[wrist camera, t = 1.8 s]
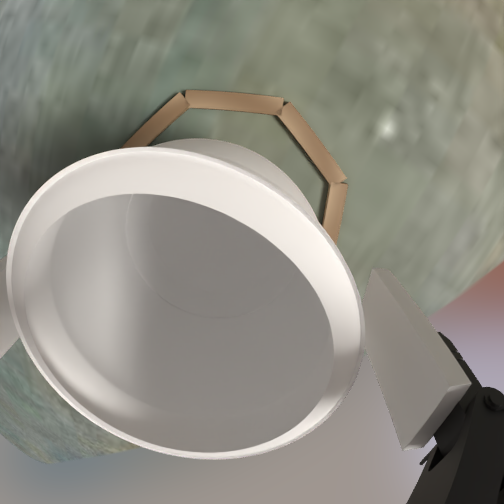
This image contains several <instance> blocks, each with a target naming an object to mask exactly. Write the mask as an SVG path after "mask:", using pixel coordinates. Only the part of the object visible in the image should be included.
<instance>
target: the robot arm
mask: <svg viewBox="0 0 504 504" xmlns="http://www.w3.org/2000/svg"><path fill="white" fill-rule="evenodd" d="M6 263H7V256H6V257H4V258H2V259H1V260H0V358H1V357H2V356H3V355H4V354H5V353H6V352H7V350H8V349H9V348H10V347H11V346H12V345H13V344H14V343H15V342H16V340H17V339H18V338H19V337H20V336H19V334H18V331H17V329H16V326H15V323H14V320H13V317H12V314H11V310H10V305H9V300H8V294H7V285H6ZM362 307H363V312H364V320H365V345H364V347H365V350H366V352H367V355H368V357H369V360H370V362H371V365H372V368H373V370H374V372H375V375H376V378H377V380H378V383H379V386H380V388H381V391H382V394H383V396H384V399H385V402H386V405H387V407H388V410H389V413H390V416H391V418H392V421H393V424H394V427H395V430H396V433H397V436H398V439H399V442H400V445H401V448H402V451H406V450H411V449H417V448H422V447H424V446H425V445H426V444H427V442H428V441H429V440H430V439H431V438H432V437H433V435H434V437H435V440H436V442H437V444H436V445H435V447H434V448H433V449H432V450H431V451H430V452H429V453H428V454H427V455H426V456H425V457H424V459H423V460H422V461H421V462H420V465H423V464H424V463H425V462H426V461H427V462H426V465H425V467H424V469H423V472H422V474H421V476H420V478H419V480H418V482H417V484H416V486H415V488H414V490H413V492H412V494H411V496H410V498H409V500H408V502H407V503H406V504H504V395H503V394H502V393H501V392H500V391H498V390H497V389H495V388H491V387H483V388H482V386H481V384H480V383H479V381H478V380H477V378H476V377H475V375H474V374H473V373H472V371H471V369H470V368H469V366H468V365H467V364H466V362H465V361H463V358H462V356H461V355H460V353H457V351H458V350H457V349H456V348H455V346H454V345H453V343H452V342H451V341H450V340H449V339H448V338H447V337H445V336H444V335H443V334H442V333H440V332H437V331H436V330H435V329H434V327H433V326H432V324H431V323H430V322H429V320H428V319H427V318H426V316H425V315H424V314H423V312H422V311H421V310H420V308H419V307H418V306H417V304H416V303H415V302H414V300H413V299H412V298H411V296H410V295H409V294H408V293H407V291H406V290H405V289H404V287H403V286H402V285H401V284H400V282H399V281H398V280H397V279H396V277H395V276H394V275H393V274H392V272H391V271H390V270H389V269H382V268H372V271H371V275H370V278H369V282H368V285H367V288H366V292H365V295H364V298H363V301H362Z"/></svg>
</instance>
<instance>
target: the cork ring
mask: <svg viewBox="0 0 504 504" xmlns="http://www.w3.org/2000/svg"><path fill="white" fill-rule="evenodd" d="M283 100H284V98H279V97H272V96H264V95H255V94H245V93H233V92H220V91H201V90H186V94H185V97H184V96H183V95H182V94H181V93H180V92H179V93H178V94H177V95H176V96H175V97H174V98H172V99H171V100H170V101H169V102H168V103H167V104H166V105H165V106H163V107H162V108H161V109H160V110H159V111H158V112H157V113H156V114H155V115H154V116H153V117H152V118H150V119H149V120H148V121H147V122H146V123H145V124H144V125H143V126H142V127H141V128H140V129H139V130H138V131H137V132H136V133H135V134H134V135H133V136H132V137H131V138H130V139H129V140H128V141H127V142H126V143H125V144H124V145H123V146H122V147H121V148H120V149H123V148H133V147H147V146H148V145H149V144H150V143H151V142H152V141H153V140H154V139H155V138H156V137H158V136H159V135H160V134H161V133H162V132H163V131H164V130H165V129H166V128H167V127H168V126H169V125H171V124H172V123H173V122H174V121H175V120H176V119H177V118H178V117H180V116H181V115H182V114H183V113H184V112H185V111H187V110H188V109H189V108H199V109H216V110H229V111H240V112H251V113H260V114H268V115H276V116H278V117H279V119H280V120H281V121H282V122H283V124H284V125H285V126H286V127H287V129H288V130H289V131H290V132H291V134H292V135H293V136H294V137H295V139H296V140H297V141H298V143H299V144H300V145H301V147H302V148H303V149H304V151H305V152H306V153H307V155H308V156H309V157H310V159H311V160H312V161H313V163H314V164H315V165H316V167H317V168H318V169H319V171H320V172H321V174H322V175H323V176H324V178H325V179H326V181H327V182H328V183H329V188H328V194H327V199H326V205H325V211H324V216H323V221H322V227H323V228H324V229H325V230H326V232H327V233H328V235H329V236H330V237H331V239H332V240H333V242H334V243H335V245H336V244H337V239H338V234H339V229H340V225H341V220H342V215H343V210H344V204H345V199H346V194H347V188H348V184H346V183H341V182H342V181H344V180H345V179H346V176H345V175H344V173H343V172H342V170H341V169H340V168H339V166H338V165H337V163H336V162H335V160H334V159H333V158H332V156H331V155H330V153H329V152H328V151H327V149H326V148H325V146H324V145H323V144H322V142H321V141H320V140H319V138H318V137H317V136H316V134H315V133H314V132H313V130H312V129H311V128H310V126H309V125H308V124H307V122H306V121H305V120H304V119H303V117H302V116H301V115H300V113H299V112H298V111H297V110H296V108H295V107H294V106H293V105H292V103H291V102H289V103H287V104H286V105H285V106H283Z"/></svg>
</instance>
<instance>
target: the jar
mask: <svg viewBox="0 0 504 504" xmlns="http://www.w3.org/2000/svg"><path fill="white" fill-rule="evenodd" d="M6 285H7V294H8V300H9V305H10V310H11V314H12V317H13V320H14V323H15V326H16V329H17V331H18V334H19V336H20V338H21V341H22V343H23V345H24V347H25V349H26V351H27V352H28V354H29V356H30V357H31V359H32V361H33V362H34V364H35V365H36V367H37V368H38V370H39V371H40V372H41V374H42V375H43V376H44V378H45V379H46V380H47V381H48V383H49V384H50V385H51V386H52V387H53V388H54V389H55V390H56V391H57V392H58V394H59V395H60V396H61V397H62V398H64V399H65V400H66V401H67V402H68V403H69V404H70V405H71V406H72V407H74V408H75V409H76V410H77V411H78V412H80V413H81V414H82V415H84V416H85V417H86V418H88V419H89V420H91V421H92V422H94V423H95V424H97V425H98V426H100V427H102V428H103V429H105V430H107V431H108V432H110V433H112V434H114V435H116V436H118V437H120V438H122V439H124V440H126V441H129V442H131V443H134V444H136V445H139V446H141V447H144V448H147V449H150V450H154V451H157V452H161V453H165V454H169V455H174V456H180V457H186V458H195V459H234V458H242V457H248V456H253V455H258V454H262V453H266V452H269V451H272V450H275V449H278V448H281V447H283V446H285V445H288V444H290V443H292V442H294V441H296V440H298V439H300V438H302V437H303V436H305V435H307V434H308V433H310V432H311V431H313V430H314V429H316V428H317V427H318V426H319V425H321V424H322V423H323V422H324V421H325V420H327V419H328V418H329V417H330V416H331V415H332V414H333V413H334V412H335V410H336V409H337V408H338V407H339V406H340V404H341V403H342V402H343V400H344V399H345V398H346V396H347V395H348V393H349V391H350V390H351V388H352V386H353V384H354V382H355V379H356V377H357V375H358V372H359V369H360V366H361V362H362V358H363V353H364V345H365V320H364V312H363V307H362V302H361V298H360V295H359V292H358V289H357V286H356V283H355V281H354V278H353V276H352V274H351V271H350V269H349V267H348V266H347V264H346V262H345V260H344V258H343V256H342V255H341V253H340V251H339V250H338V248H337V246H336V245H335V243H334V242H333V240H332V239H331V237H330V236H329V235H328V233H327V232H326V230H325V229H324V228H323V227H322V225H321V224H320V223H319V222H318V220H317V217H316V215H315V213H314V211H313V210H312V208H311V206H310V204H309V203H308V201H307V199H306V198H305V196H304V195H303V194H302V192H301V191H300V190H299V188H298V187H297V186H296V185H295V183H294V182H293V181H292V180H291V179H290V178H289V177H288V176H287V175H286V174H285V173H284V172H283V171H282V170H281V169H279V168H278V167H277V166H276V165H274V164H273V163H272V162H270V161H269V160H267V159H266V158H264V157H263V156H261V155H259V154H257V153H256V152H254V151H252V150H249V149H247V148H245V147H242V146H239V145H236V144H233V143H230V142H225V141H221V140H214V139H203V138H192V139H180V140H174V141H169V142H164V143H161V144H157V145H154V146H148V147H133V148H123V149H117V150H111V151H107V152H103V153H99V154H96V155H93V156H90V157H87V158H84V159H82V160H80V161H78V162H75V163H73V164H72V165H70V166H68V167H66V168H64V169H63V170H61V171H60V172H58V173H57V174H56V175H54V176H53V177H52V178H50V179H49V180H48V181H47V182H46V183H45V184H44V185H42V186H41V187H40V189H39V190H38V191H37V192H36V193H35V194H34V195H33V196H32V198H31V199H30V200H29V202H28V203H27V205H26V206H25V208H24V209H23V211H22V213H21V215H20V217H19V219H18V221H17V223H16V225H15V228H14V230H13V233H12V237H11V240H10V244H9V249H8V254H7V263H6Z"/></svg>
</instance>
